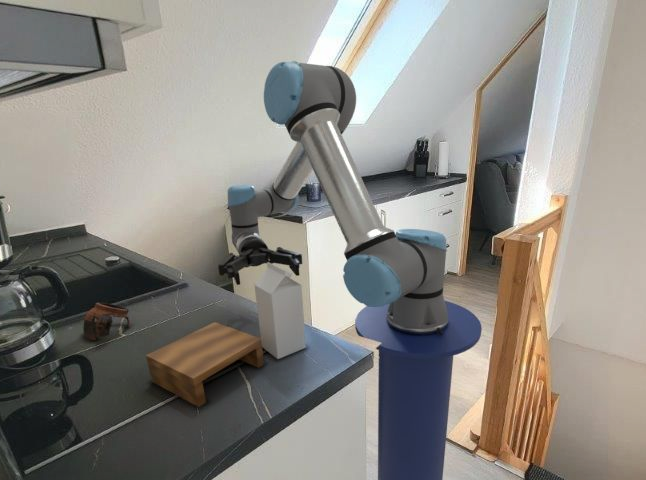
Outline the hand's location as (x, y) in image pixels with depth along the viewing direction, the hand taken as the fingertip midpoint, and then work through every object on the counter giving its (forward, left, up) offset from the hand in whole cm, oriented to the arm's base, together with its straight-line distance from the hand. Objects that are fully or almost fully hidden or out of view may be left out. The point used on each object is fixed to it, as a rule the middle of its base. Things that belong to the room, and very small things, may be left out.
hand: (268, 274), depth 92 cm
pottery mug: (+33, +22, -14) cm, 42 cm away
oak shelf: (-2, +20, -14) cm, 25 cm away
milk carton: (-8, +5, -14) cm, 17 cm away
